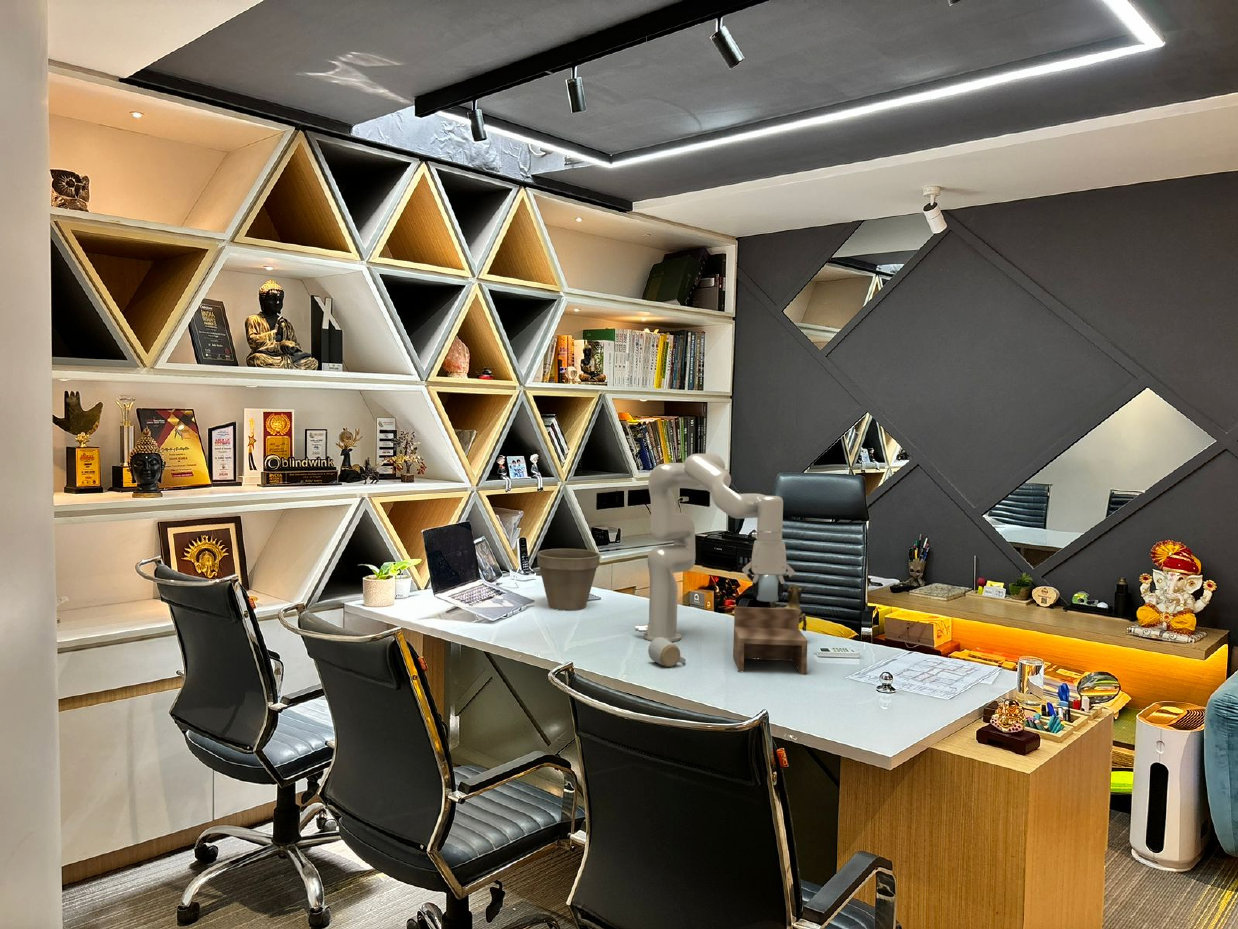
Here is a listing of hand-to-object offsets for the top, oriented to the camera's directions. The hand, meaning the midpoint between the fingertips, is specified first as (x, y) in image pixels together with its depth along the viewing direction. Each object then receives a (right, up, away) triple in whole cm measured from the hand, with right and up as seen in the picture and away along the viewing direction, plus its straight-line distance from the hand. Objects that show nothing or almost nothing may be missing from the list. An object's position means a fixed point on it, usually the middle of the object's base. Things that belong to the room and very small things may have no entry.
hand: (767, 595), depth 274 cm
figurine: (+9, -21, +31) cm, 39 cm away
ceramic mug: (-30, -21, +1) cm, 37 cm away
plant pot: (-65, -17, +84) cm, 108 cm away
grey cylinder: (0, -1, 0) cm, 1 cm away
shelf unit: (+1, -22, +2) cm, 22 cm away
